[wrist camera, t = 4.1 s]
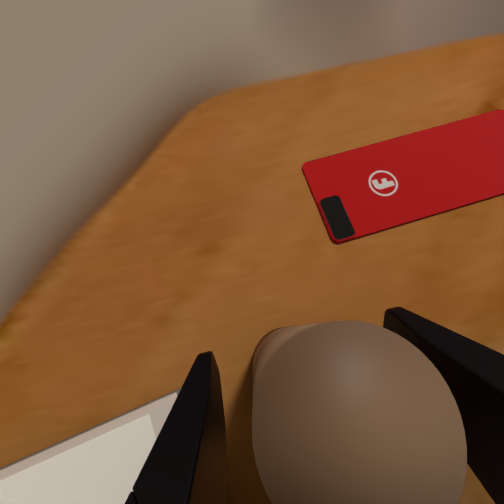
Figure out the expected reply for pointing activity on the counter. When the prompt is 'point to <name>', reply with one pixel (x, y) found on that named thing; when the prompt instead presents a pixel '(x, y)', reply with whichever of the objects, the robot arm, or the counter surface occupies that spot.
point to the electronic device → (409, 176)
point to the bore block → (89, 461)
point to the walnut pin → (353, 419)
